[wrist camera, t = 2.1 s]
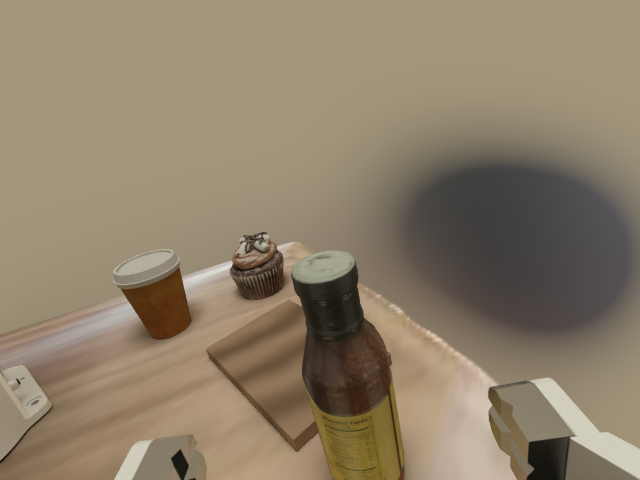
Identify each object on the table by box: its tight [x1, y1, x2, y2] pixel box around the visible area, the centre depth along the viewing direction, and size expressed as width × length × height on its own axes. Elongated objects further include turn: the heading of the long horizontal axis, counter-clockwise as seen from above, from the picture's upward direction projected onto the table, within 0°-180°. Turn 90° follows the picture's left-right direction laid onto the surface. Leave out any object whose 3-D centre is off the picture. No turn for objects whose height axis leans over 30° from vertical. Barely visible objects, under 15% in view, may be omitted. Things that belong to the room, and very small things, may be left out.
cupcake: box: [230, 232, 284, 300], centre depth 60 cm, size 10×10×10 cm
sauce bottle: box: [291, 251, 404, 480], centre depth 25 cm, size 6×6×20 cm
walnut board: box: [206, 300, 392, 451], centre depth 42 cm, size 20×14×2 cm
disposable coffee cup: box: [113, 249, 191, 339], centre depth 53 cm, size 10×10×12 cm
